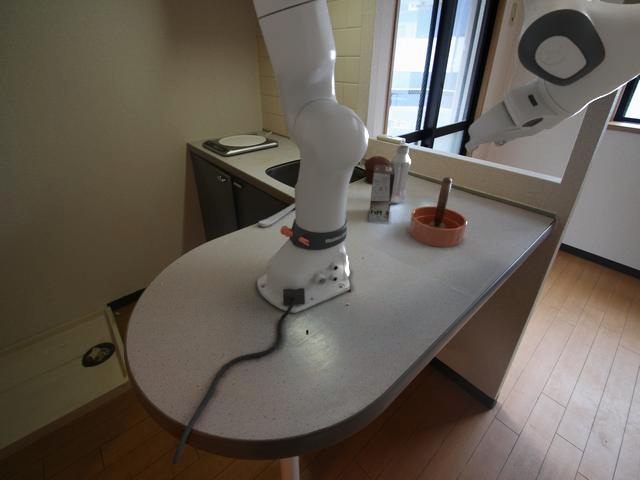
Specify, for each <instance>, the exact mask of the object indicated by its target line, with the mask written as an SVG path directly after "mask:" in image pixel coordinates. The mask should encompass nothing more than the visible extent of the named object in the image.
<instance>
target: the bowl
mask: <svg viewBox="0 0 640 480" xmlns="http://www.w3.org/2000/svg"><path fill="white" fill-rule="evenodd" d="M436 208H437V206H432V205H430V206H429V205H428V206H427V205H426V206H420V207H417V208H415V209H413V210H412V211H411V213H410V219H409V223H408V234H409V235H410V236H411V238H413V239H414V240H416V241H417V242H419V243H422V244H424V245H428V246H431V247H438V248H449V247H450V248H451V247H455V246H458V245H459V244H460V243H462V241H463V238H464V235H465V232H466V228H467V224H468V220H467V218H466V217H465V216H464V215H463V214H462V213H460V212H457V211H456V210H453V209H450V208H447V207H446V209H445V213H444V217H443V221H442V223H443V224H444V225H445V229H440V228H434V227H430V226H429V223H430V222H432V221H434V217H435V212H436Z"/></svg>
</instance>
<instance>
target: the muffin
mask: <svg viewBox="0 0 640 480" xmlns="http://www.w3.org/2000/svg"><path fill="white" fill-rule="evenodd" d="M391 162H392V161H390V159H388V158H387V157H385V156H380V155H374V156H371V157H369V158H368V159H366V161H365V162H364V164H363V167H364V173H365V174H364V175H365V182H367V183H369V184H372V182H373V174H374V167H375V165H390V166H391Z"/></svg>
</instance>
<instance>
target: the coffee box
mask: <svg viewBox="0 0 640 480" xmlns="http://www.w3.org/2000/svg"><path fill="white" fill-rule="evenodd" d="M394 178H395V166H390V165H375V167H374V174H373V182H372V183H371V184H372V185H371V191H370V203H369V212H368V213H369V214H368V221H373V222H374V221H375V222H383V223H384V222H385V223H389V217H390V211H391V205H392V203H391V199H392V192H393V185H394Z"/></svg>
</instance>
